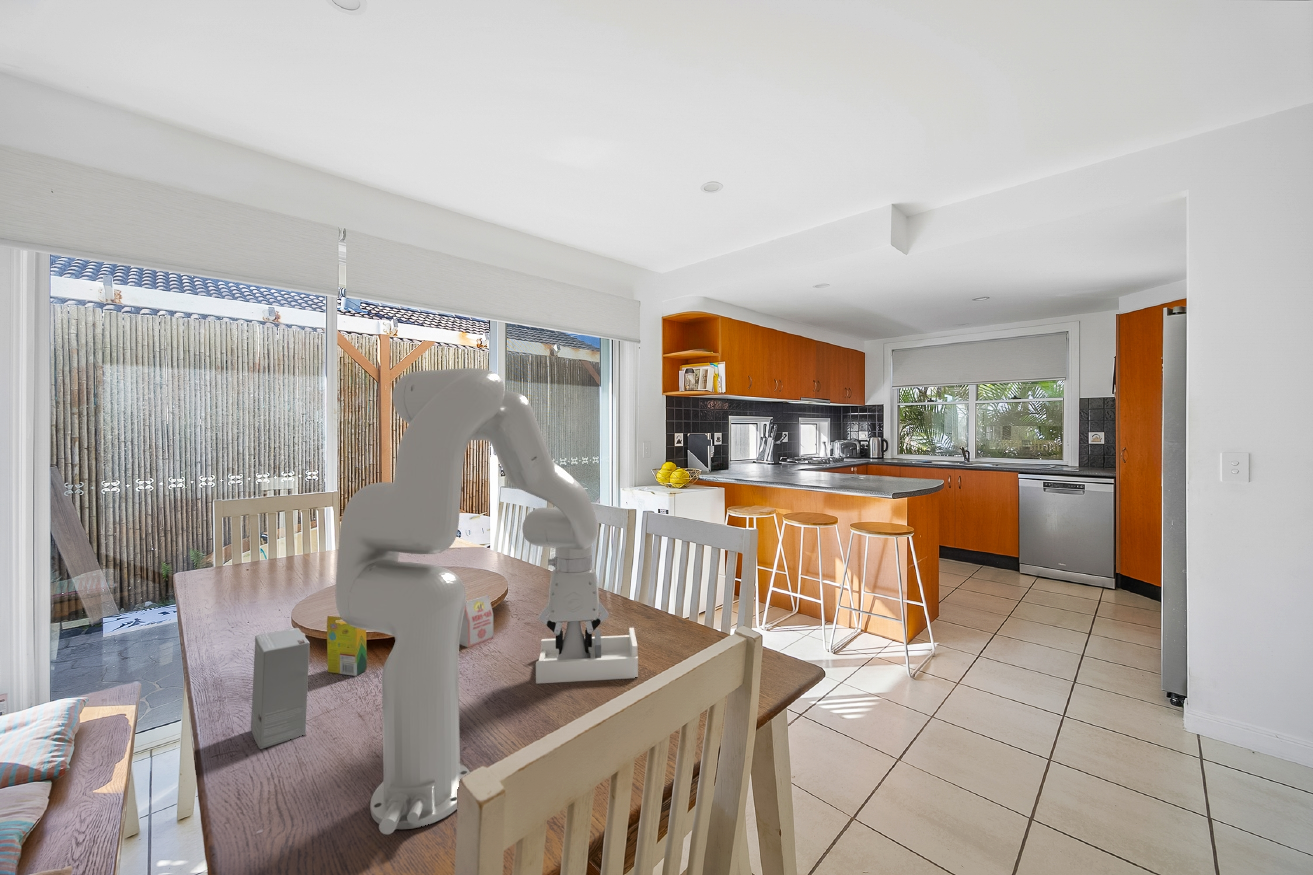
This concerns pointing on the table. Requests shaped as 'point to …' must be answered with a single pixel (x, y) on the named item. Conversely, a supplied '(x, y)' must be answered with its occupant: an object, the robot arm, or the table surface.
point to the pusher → (597, 643)
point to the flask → (573, 643)
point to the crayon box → (345, 648)
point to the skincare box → (279, 687)
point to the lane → (590, 661)
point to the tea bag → (477, 622)
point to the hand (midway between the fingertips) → (573, 650)
